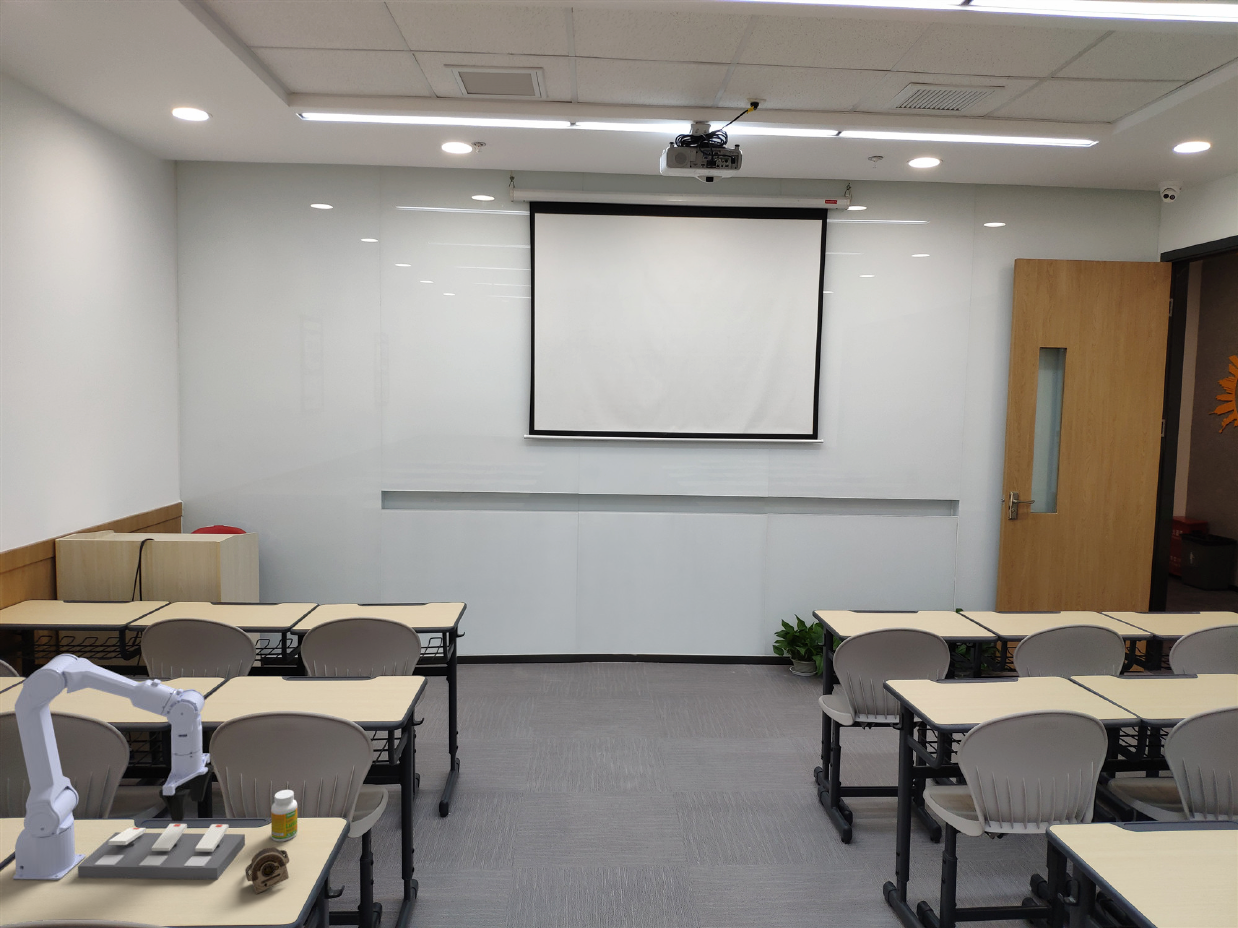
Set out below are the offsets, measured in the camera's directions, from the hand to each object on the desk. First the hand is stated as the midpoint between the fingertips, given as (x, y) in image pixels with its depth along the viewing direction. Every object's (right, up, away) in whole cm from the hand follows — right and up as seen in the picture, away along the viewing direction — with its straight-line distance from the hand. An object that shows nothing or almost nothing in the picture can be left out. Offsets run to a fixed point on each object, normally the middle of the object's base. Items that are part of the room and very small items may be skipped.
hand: (187, 810), depth 162 cm
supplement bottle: (+17, -10, +8) cm, 21 cm away
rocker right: (+5, -6, 0) cm, 8 cm away
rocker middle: (-4, -6, 0) cm, 7 cm away
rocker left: (-13, -6, -1) cm, 14 cm away
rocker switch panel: (-4, -10, -2) cm, 11 cm away
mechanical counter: (+20, -11, -6) cm, 24 cm away
